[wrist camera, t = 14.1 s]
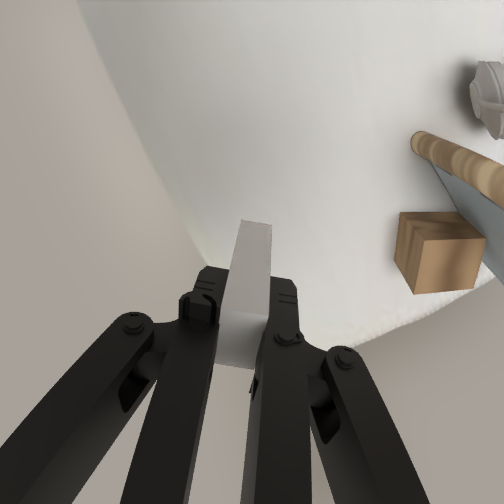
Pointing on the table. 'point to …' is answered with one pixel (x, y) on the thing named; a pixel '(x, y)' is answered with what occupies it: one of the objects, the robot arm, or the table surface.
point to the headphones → (489, 96)
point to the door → (479, 218)
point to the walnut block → (438, 251)
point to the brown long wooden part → (462, 164)
